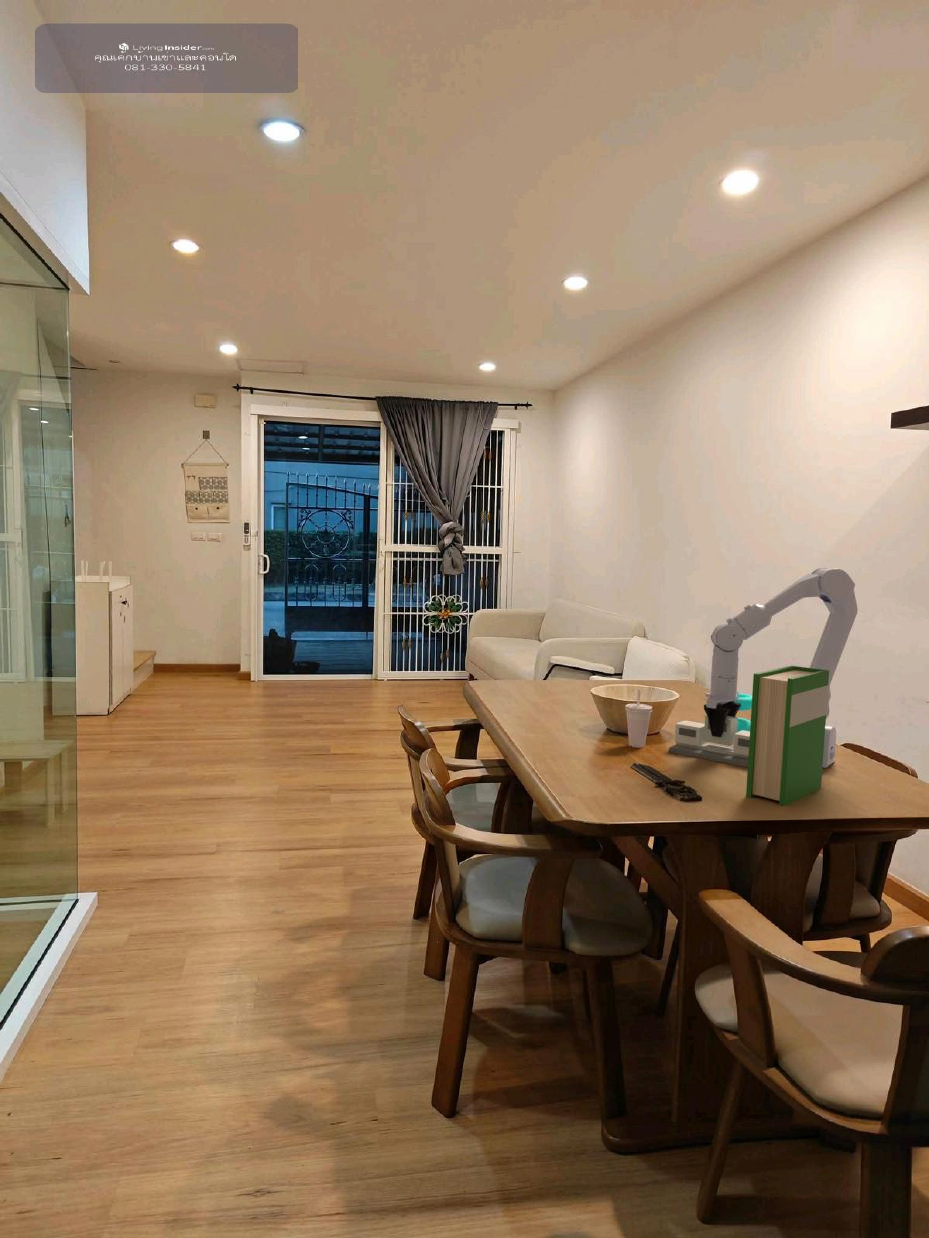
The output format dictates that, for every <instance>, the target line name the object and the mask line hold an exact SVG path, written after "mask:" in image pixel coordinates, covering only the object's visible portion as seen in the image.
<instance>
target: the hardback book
mask: <svg viewBox="0 0 929 1238" xmlns="http://www.w3.org/2000/svg"><path fill="white" fill-rule="evenodd" d="M752 677H753V679H752V694H751V695H752V708H751V709H750V712H751V713H750V721H751V724H750V740H749V756H748V767H747V771H746V772H747V776H746V790H745V797H746V798H750V799H751V798H754V797H756V796H760V797H762V798H763V797H764V798H767V799H770V800H774V801H777V802H778V803H779V804H778V805H779V806H780V805H781V806H780V807H783V806H785V807H786V805H787V806H789V805H791V804H793V803H794V802H796V801H798V800H800V799H802V798H804V797H806V796H808V795H810V794H813V792H816V791H817V790H820V789H822V781H823V780H822V777H823V767H822V766H823V752H824V738H825V724H826V721H827V719H826V710H827V696H828V682H829V670H822V669H814V668H810V667H806V666H805V667H804V666H797V665H789V666H784V667H779V668H775V669H774V668H773V669H771V670H766V671H765V670H764V671H760V672H755V673H753V676H752ZM826 725H827V724H826ZM792 802H793V803H792ZM788 804H789V805H788Z"/></svg>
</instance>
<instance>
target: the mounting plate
mask: <svg viewBox="0 0 929 1238" xmlns="http://www.w3.org/2000/svg"><path fill="white" fill-rule="evenodd" d="M704 727H705V723H702V722H695V721H690V720H686V719H685V720H682V721H679V722H677V723H675V731H674V734H675V735H674V742H675V744H673V745H672V746H669V747H668V752H670V753H675V754H680V755H685V756H690V757H694V756H695V758H699V759H705V760H709V761H714V762H715V761H716V762H720V763H725V764H729V765H734V766H737V767H738V766H739V767H745V768H748V756H749V740H750V731H744V730H742V731H740V732H737V733H735V734H734V744H733V747H732V746H727V745H722V744H716V743H711V742H706V741H704Z"/></svg>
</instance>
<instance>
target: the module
mask: <svg viewBox="0 0 929 1238" xmlns="http://www.w3.org/2000/svg"><path fill="white" fill-rule="evenodd" d="M738 718H739V716H738V717H736V716H735V717H732V716H727V717H726V720H725V724H724V729H723V734H722V737H715V736H712V735H711V730H710V724H709V720H708V717H707V714H706V715H705V716H704V724H705V727H704V741H706V742H708V743H711V744H717V745H722V746H727V747H731V746H732V745H733V746H734V734H735V733H737V726H738Z"/></svg>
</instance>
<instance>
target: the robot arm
mask: <svg viewBox="0 0 929 1238" xmlns="http://www.w3.org/2000/svg"><path fill="white" fill-rule="evenodd" d="M855 585H856V583H855V582H854V580H853V579H852V578H851V576H850V575H849V573H847V572H846V571H845V570H844V569H842V568H826V567H820V568H817V569H815V570H813V571H812V572H811V573H808V574H806V575H803V576H802V577H800V578H799V579H797V580H796V581H794V582H793V583H792V584H790V585H789V586H788V587H786V588H785V589H784V590H782V591H781V592H779V593H778V594H776V595H775V596H773V597H772V598H771V599H769V600H768V601H766V602H765V603H764V604H757V603H754V604H752V605H750V604H747V605H746V606H744V608H743V609H744V610H743V611H741V612H740V613H738V614H737V615H735V616H734V617H732V618H731V617H729V618H727V619H725V620H726V623H721V624H718V625H717V626H716V627H715V628H714V629H713V630H712V633H711V634H710V640H711V643H712V644H713V649H712V653H713V654H712V657H711V658H712V660H711V672H710V673H711V674H710V675H711V676H710V691H709V692H706V693H704V696H705V697H708V698H707V699H706V704H704V705H703V711H704V712H705V714H706V715H707V717H708V720H709V724H710V730H711V735H712V736H715V737H722V734H723V729H724V724H725V720H726V717H727V716H732V717H736V716H737V714H738V710H739V709H740V707H741V703H738V702H734V701H736V700H738V697H739V693H740V692H739V691H737V690H738V675H739V674H738V673H739V672H738V671H739V659H740V658H739V651H740V650H739V649H740V648H741V647H742V645H743V642H744V640H745V641H747V640H748V639H750V638H751V637H752V636H755V635H756V634H757V633H759V632H761V631H762V630H764V629H765V628H766V627H769V626H770V624H771V621H772V617H773V616H775V615H776V614H778V613H780V612H782V611H783V610H785V609H787V608H789V607H790V606H792V605H794V604H795V603H797V602H799V601H800V600H802V599H804V598H816V597H817V598H819V599H820V600H822V602H823V604H824V605H825V607H826V608H827V610H828V611H829V615H828V617H827V621H826V623H825V625H824V628H823V631H822V634H821V636H820V639H819V642H818V644H817V647H816V648H815V649H816V650H815V652H814V655H813V657H812V661H811V663H810V665H809V668H814V669H822V670H829V682H828V696H827V710H826V720H828V717H829V715H830V700H831V698H832V695H831V687H830V686H831V684H832V681H833V678H834V675H835V673H836V671H837V667H838V665H839V663H840V661H841V660H840V659H841V657H842V654H843V652H844V649H845V646H846V644H847V641H848V638H849V636H850V633H851V630H852V629H853V626H854V622H855V620H856V618H857V614H858V605H857V599H856V595H855V587H856V586H855ZM836 730H837V729H836V727H835V726H832V725H827V724H825V738H824V752H823V766H822V769H823V768H825V769H826V768H828V767H829V766H831V765H832V764H833V763H835V762H836V759H835V755H836V754H835V753H836V743H837V731H836Z"/></svg>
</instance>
